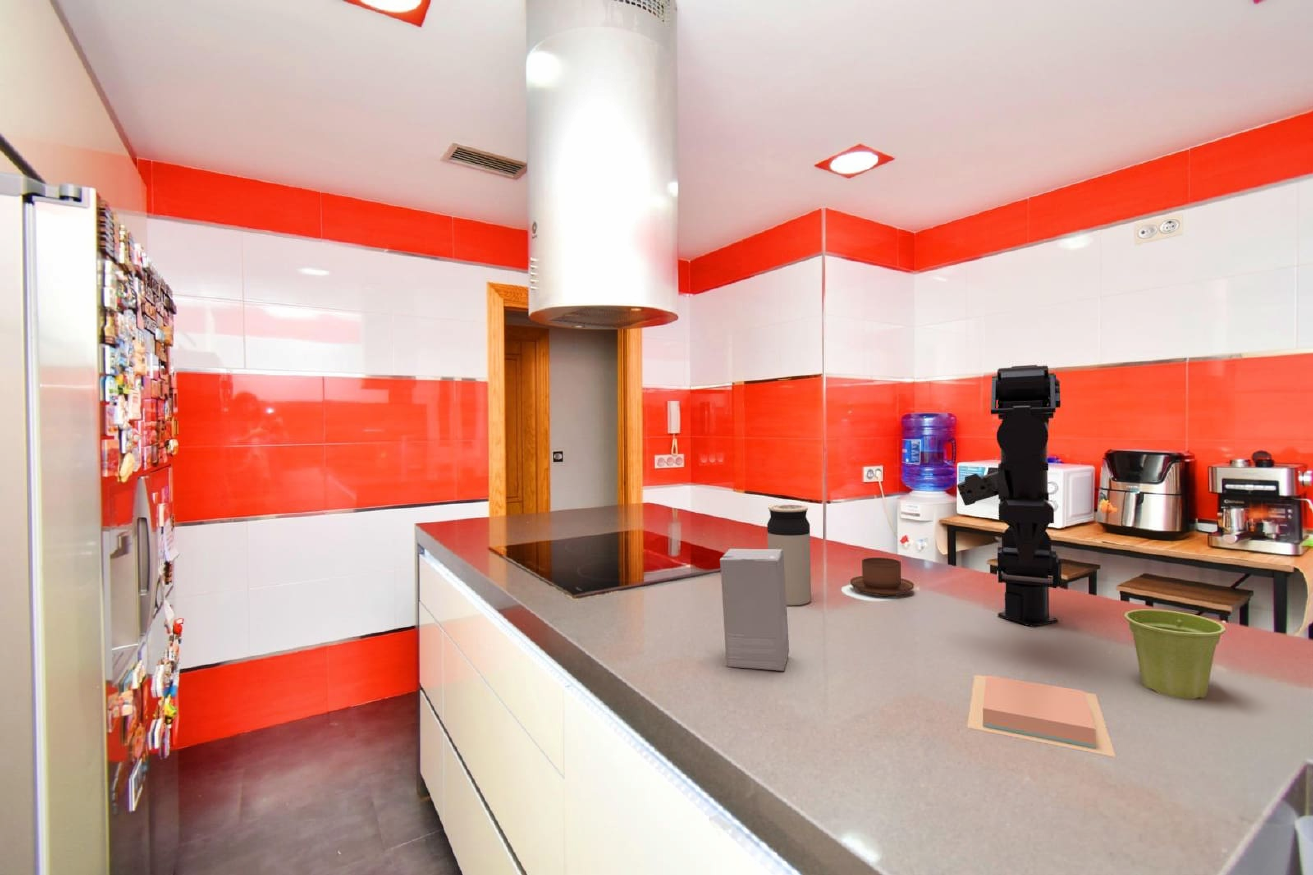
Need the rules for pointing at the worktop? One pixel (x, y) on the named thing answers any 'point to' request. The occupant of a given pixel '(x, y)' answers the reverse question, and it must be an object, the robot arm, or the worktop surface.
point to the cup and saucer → (881, 578)
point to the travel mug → (792, 549)
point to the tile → (1038, 711)
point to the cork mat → (1100, 731)
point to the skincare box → (755, 608)
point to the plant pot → (1174, 650)
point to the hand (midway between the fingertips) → (1025, 564)
